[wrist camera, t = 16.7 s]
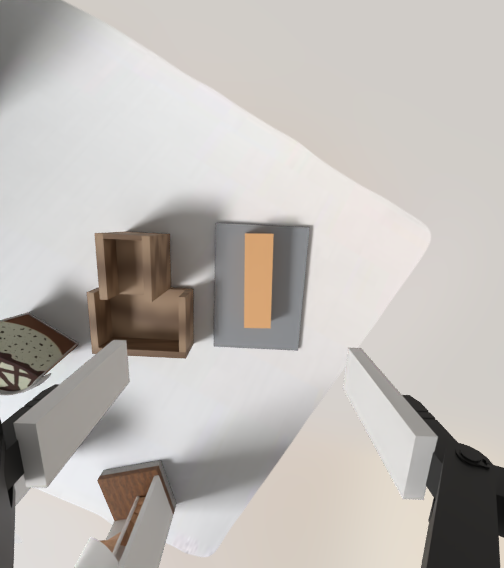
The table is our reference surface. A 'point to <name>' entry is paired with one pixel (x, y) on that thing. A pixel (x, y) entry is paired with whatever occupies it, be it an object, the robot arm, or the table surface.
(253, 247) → the tan wooden beam
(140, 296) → the pocket block
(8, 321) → the food container
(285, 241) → the mat
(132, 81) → the table surface
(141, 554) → the white cabinet tower
